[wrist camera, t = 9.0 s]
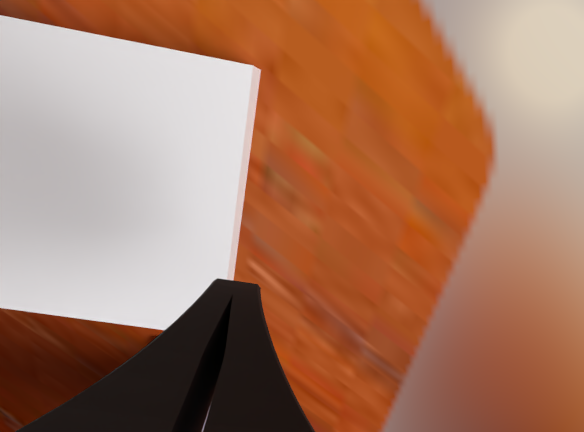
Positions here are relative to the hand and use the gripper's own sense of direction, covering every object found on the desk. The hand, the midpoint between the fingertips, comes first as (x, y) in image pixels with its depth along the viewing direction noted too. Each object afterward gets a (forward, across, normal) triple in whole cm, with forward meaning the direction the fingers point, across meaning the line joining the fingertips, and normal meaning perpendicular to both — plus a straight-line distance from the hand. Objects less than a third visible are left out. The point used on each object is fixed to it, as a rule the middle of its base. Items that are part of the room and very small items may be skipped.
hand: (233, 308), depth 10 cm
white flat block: (+9, +7, 0) cm, 12 cm away
